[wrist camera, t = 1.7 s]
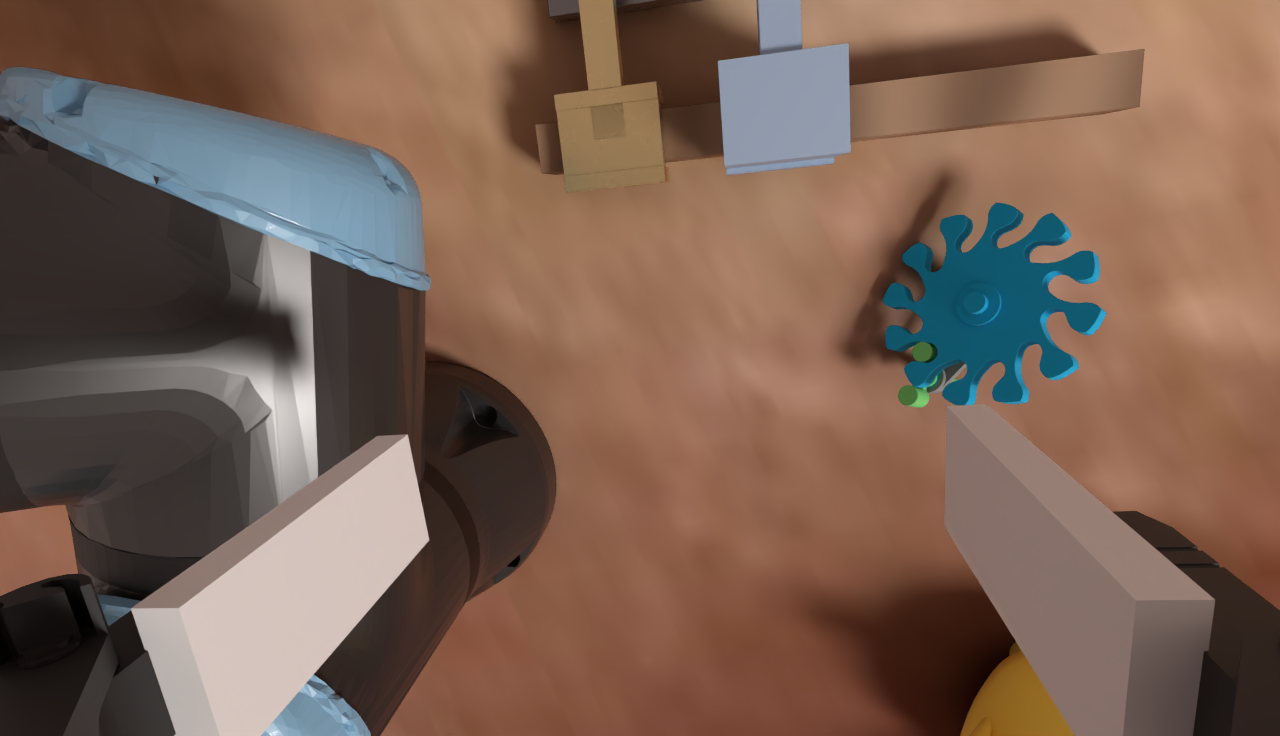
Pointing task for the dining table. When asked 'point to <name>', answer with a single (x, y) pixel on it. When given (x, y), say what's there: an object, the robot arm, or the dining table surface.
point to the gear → (988, 309)
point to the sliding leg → (784, 98)
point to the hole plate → (567, 5)
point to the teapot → (1014, 703)
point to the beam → (927, 104)
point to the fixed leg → (609, 115)
